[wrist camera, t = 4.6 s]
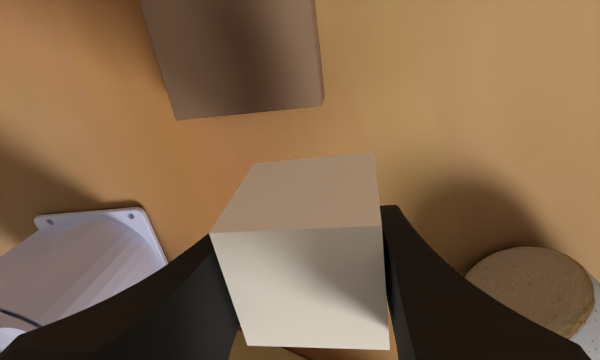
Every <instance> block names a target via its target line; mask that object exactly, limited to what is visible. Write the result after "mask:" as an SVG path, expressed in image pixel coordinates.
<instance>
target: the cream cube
mask: <svg viewBox="0 0 600 360" xmlns="http://www.w3.org/2000/svg"><path fill="white" fill-rule="evenodd" d="M209 235H210V238H211V241H212V244H213V247H214V250H215V253H216V255H217V258H218V261H219V264H220V267H221V270H222V273H223V276H224V279H225V282H226V284H227V287H228V290H229V293H230V296H231V299H232V302H233V305H234V308H235V311H236V314H237V316H238V319H239V322H240V325H241V328H242V331H243V334H244V337H245V340H246V343H247V346H277V347H309V348H341V349H374V350H390V345H389V330H388V314H387V298H386V283H385V267H384V251H383V236H382V222H381V213H380V204H379V195H378V186H377V177H376V168H375V159H374V152H373V153H362V154H351V155H340V156H329V157H317V158H306V159H295V160H284V161H273V162H261V163H254V165H253V166H252V168H251V169H250V171H249V172H248V174H247V175H246V177H245V178H244V180H243V182H242V183H241V185H240V186H239V188H238V189H237V191H236V192H235V194H234V195H233V197H232V198H231V200H230V202H229V203H228V205H227V206H226V208H225V209H224V211H223V212H222V214H221V215H220V217H219V218H218V220H217V221H216V223H215V225H214V226H213V228H212V229H211V231H210V232H209Z"/></svg>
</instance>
